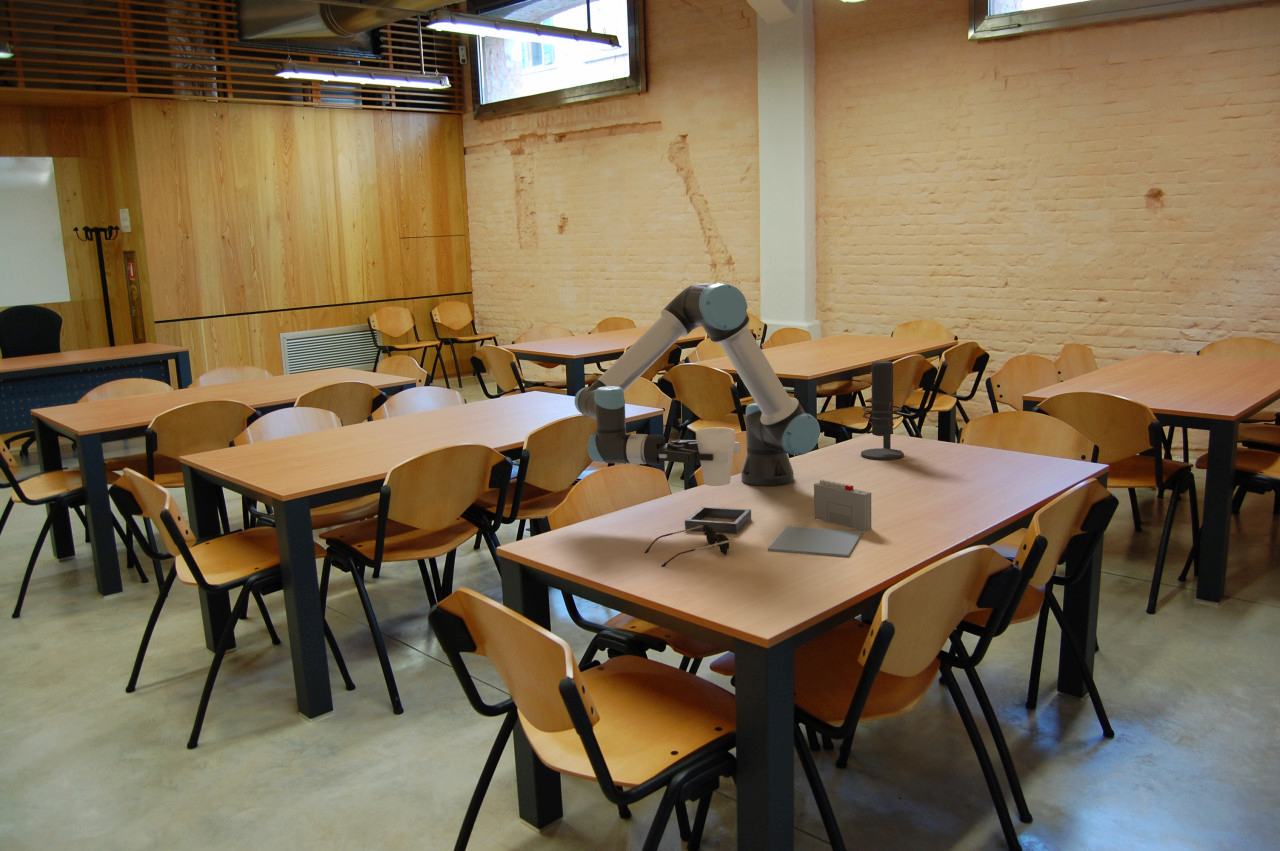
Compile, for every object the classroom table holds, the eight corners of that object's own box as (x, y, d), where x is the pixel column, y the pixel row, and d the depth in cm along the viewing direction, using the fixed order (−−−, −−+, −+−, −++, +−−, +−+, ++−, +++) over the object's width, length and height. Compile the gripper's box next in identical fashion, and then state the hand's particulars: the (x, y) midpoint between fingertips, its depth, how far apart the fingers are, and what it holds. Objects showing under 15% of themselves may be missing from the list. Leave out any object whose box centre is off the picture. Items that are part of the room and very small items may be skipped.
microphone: (852, 452, 311) (851, 360, 306) (889, 448, 315) (890, 358, 309) (873, 461, 298) (873, 365, 292) (912, 457, 301) (912, 362, 295)
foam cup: (742, 480, 238) (741, 428, 235) (725, 489, 230) (723, 435, 228) (709, 476, 243) (707, 426, 240) (691, 485, 235) (688, 433, 233)
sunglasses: (731, 559, 213) (729, 538, 212) (664, 574, 208) (661, 553, 207) (706, 542, 226) (704, 522, 225) (642, 556, 221) (640, 536, 220)
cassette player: (871, 529, 229) (871, 488, 227) (864, 531, 228) (863, 490, 226) (821, 516, 242) (821, 478, 240) (814, 518, 240) (813, 479, 238)
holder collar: (702, 515, 247) (701, 506, 246) (751, 519, 242) (751, 509, 241) (685, 530, 235) (684, 520, 234) (736, 534, 230) (736, 523, 229)
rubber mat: (787, 528, 233) (787, 526, 233) (862, 533, 226) (862, 531, 226) (768, 550, 216) (767, 548, 216) (848, 557, 210) (848, 554, 210)
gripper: (664, 454, 252) (746, 457, 244) (631, 474, 232) (720, 478, 224) (662, 426, 251) (745, 428, 243) (629, 444, 231) (719, 446, 223)
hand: (733, 452), depth 233 cm, fingers closed on foam cup, 9 cm apart
